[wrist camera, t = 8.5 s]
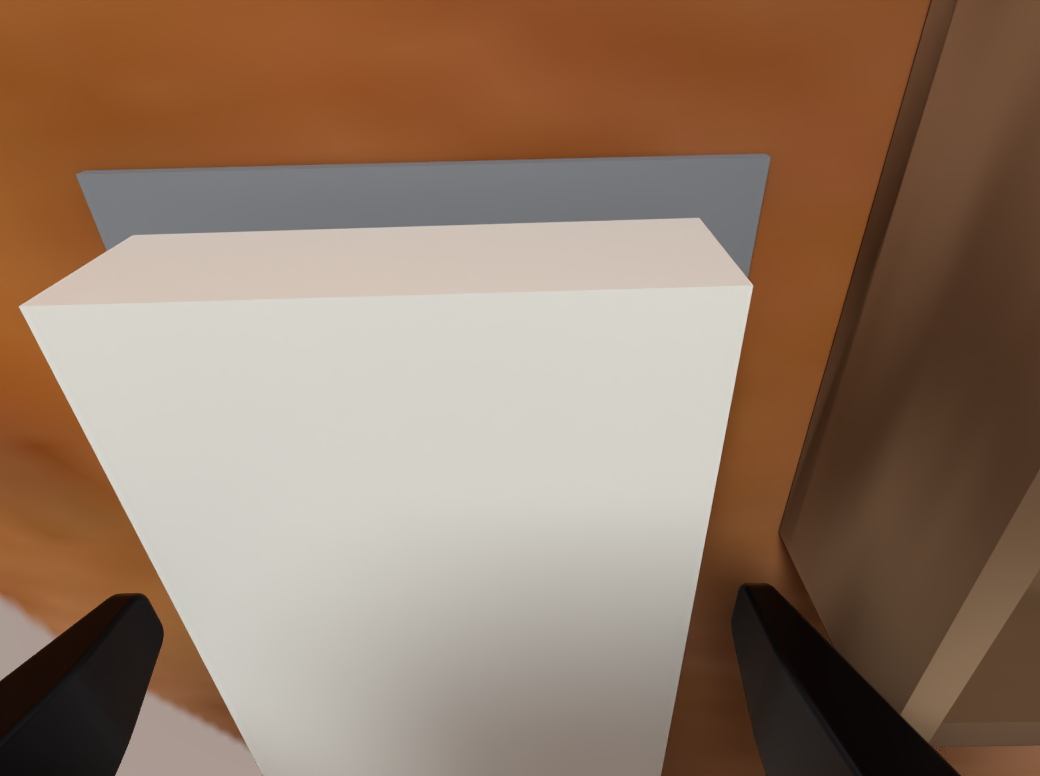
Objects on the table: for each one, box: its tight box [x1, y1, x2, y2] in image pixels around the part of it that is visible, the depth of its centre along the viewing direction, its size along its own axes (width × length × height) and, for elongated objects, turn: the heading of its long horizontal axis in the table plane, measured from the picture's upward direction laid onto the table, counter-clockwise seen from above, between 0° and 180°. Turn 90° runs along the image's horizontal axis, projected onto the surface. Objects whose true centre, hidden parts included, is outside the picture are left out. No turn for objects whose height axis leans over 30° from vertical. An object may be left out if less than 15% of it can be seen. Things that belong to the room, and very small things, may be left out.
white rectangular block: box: [19, 218, 753, 776], centre depth 10 cm, size 11×7×3 cm, turn 2°
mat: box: [76, 154, 771, 278], centre depth 11 cm, size 12×9×1 cm
